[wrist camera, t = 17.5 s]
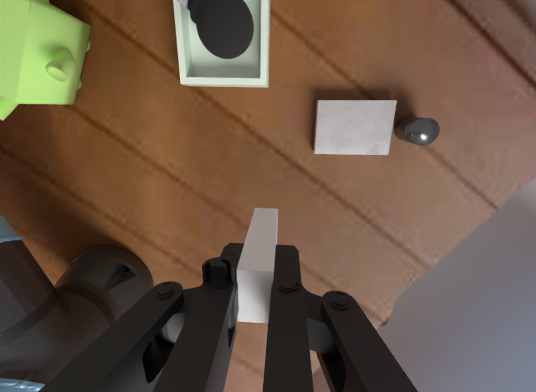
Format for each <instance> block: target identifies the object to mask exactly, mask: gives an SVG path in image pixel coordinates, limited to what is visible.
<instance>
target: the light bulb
mask: <svg viewBox="0 0 536 392" xmlns="http://www.w3.org/2000/svg"><path fill="white" fill-rule="evenodd" d="M177 1H178V2H179V3H180V4H182V5H183V6H184V7H185V8H187V9H188V10H189V11H190V18H191V20H192V21H193V22H194V23H195V24H196V28H197V32H198V35H199V38H200V40H201V42H202V44H203V45H204V46H205V48H206V49H207V50H208V51H209V52H210V53H212V54H213V55H215V56H217V57H219V58H222V59H233V58H236V57H238V56H240V55H242V54H243V53H244V52H245V51H246V50H247V49H248V47H249V46H250V43H251V41H252V38H253V33H254V23H253V18H252V14H251V12H250V9H249V7H248V6H247V4H246V3H245V1H244V0H177Z"/></svg>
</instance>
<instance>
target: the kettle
mask: <svg viewBox="0 0 536 392" xmlns="http://www.w3.org/2000/svg"><path fill="white" fill-rule="evenodd" d="M91 28H92V26H90V25H88V24H86V23H84V22H83V21H81V20H79V19H77V18H75V17H74V16H72V15H70V14H68V13H66V12H65V11H63V10H61V9H59V8H57V7H56V6H54V5H52V4H50V3H49V0H0V120H2V121H3V120H4V119H5V118H6V117H7V116H8V115H9V114H10V113H11V112H12V111H13V110H14V109H15V108H16V107H17V105H18V104H75V99H76V95H77V91H78V89H80V88H81V85H82V82H81V79H80V77H81V73H82V68H83V64H84V59H85V55H86V51H88V50H89V49H90V45H91V44H90V40H89V37H90V32H91Z"/></svg>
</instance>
